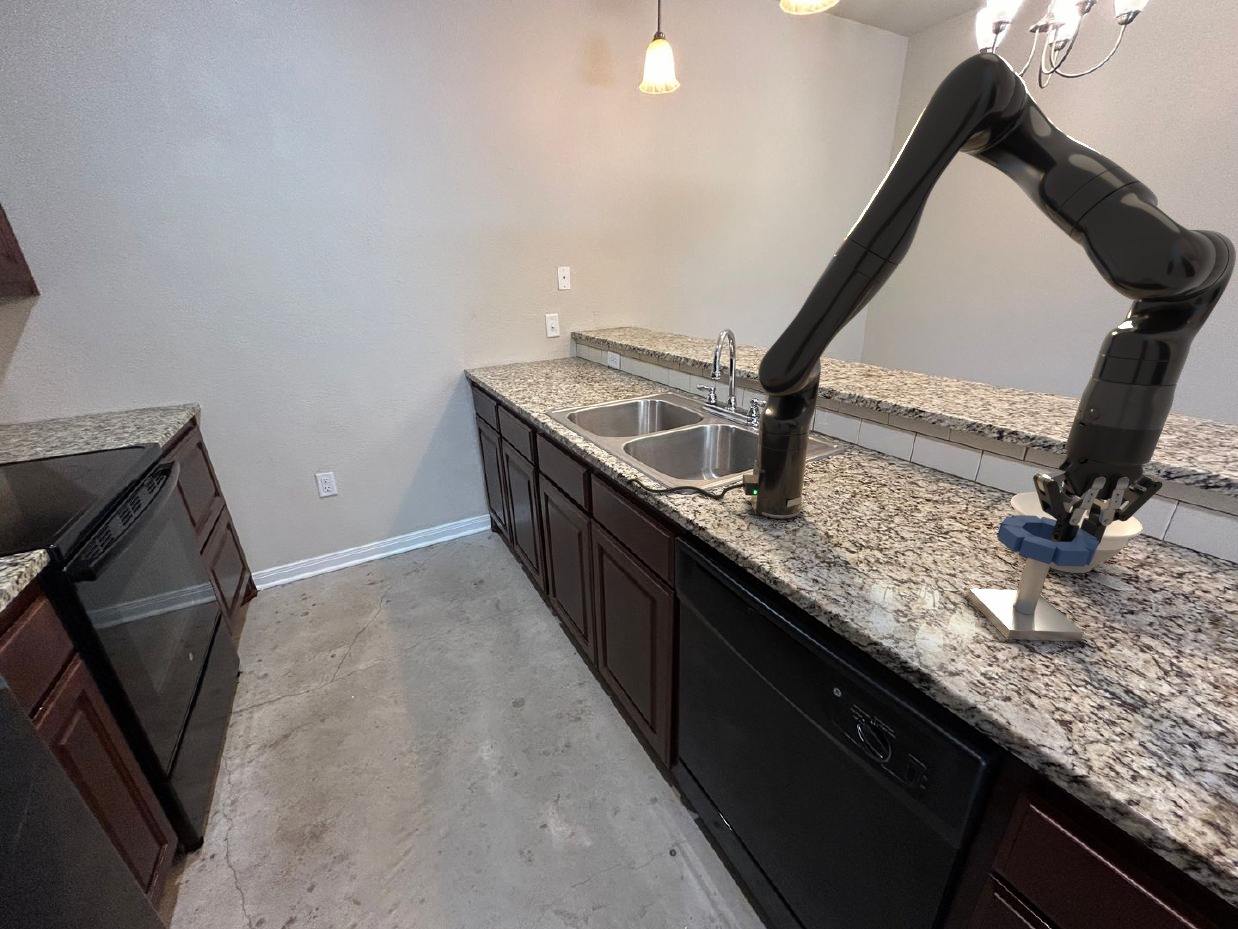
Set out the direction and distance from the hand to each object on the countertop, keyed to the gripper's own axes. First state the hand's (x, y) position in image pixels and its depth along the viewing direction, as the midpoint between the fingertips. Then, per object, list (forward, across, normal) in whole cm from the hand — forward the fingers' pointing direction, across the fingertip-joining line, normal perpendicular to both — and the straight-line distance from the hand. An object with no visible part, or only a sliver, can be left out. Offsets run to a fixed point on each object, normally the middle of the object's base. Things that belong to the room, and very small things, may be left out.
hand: (1072, 546), depth 64 cm
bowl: (+12, -12, -16) cm, 23 cm away
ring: (0, +4, 0) cm, 4 cm away
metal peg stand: (+11, +4, 0) cm, 12 cm away
